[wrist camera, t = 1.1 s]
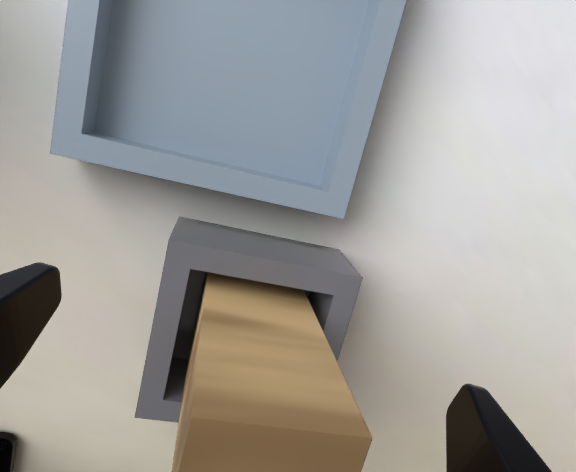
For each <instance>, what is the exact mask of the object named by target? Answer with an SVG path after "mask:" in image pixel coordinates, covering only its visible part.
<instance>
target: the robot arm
mask: <svg viewBox="0 0 576 472" xmlns="http://www.w3.org/2000/svg"><path fill="white" fill-rule="evenodd" d="M60 301H61V283H60V272H59V270H58V268H57V267H55V266H52V265H48V264H44V263H34V264H31V265H28V266H25V267H22V268H19V269H16V270H13V271H10V272H7V273H4V274H1V275H0V388H1V387H2V386H3V385H4V383H5V382H6V381H7V380H8V379H9V377H10V376H11V375H12V374H13V372H14V371H15V370H16V369H17V367H18V366H19V365H20V363H21V362H22V360H23V359H24V358H25V356H26V355H27V353H28V352H29V350H30V349H31V347H32V345H33V344H34V342H35V341H36V339H37V338H38V336H39V335H40V333H41V332H42V330H43V329H44V327H45V326H46V324H47V323H48V321H49V320H50V318H51V317H52V315H53V314H54V312H55V311H56V309H57V307H58V306H59V304H60ZM1 442H3V443H6V444H7V445H3V444H2V443H1ZM16 442H17V441H16V438H15V436H14V435H12V434H10V433H6V432H0V472H13V467H14V459H15V451H16ZM446 456H447V472H552V471H551V470H550V469H549V467H548V466H547V465H546V464H545V462H544V461H543V460H542V459H541V457H540V456H539V455H538V454H537V452H536V451H535V450H534V449H533V447H532V446H531V445H530V443H529V442H528V441H527V440H526V438H525V437H524V436H523V435H522V433H521V432H520V431H519V430H518V428H517V427H516V426H515V425H514V423H513V422H512V421H511V420H510V418H509V417H508V416H507V415H506V413H505V412H504V411H503V410H502V408H501V407H500V406H499V404H498V403H497V402H496V401H495V399H494V398H493V397H492V396H491V394H490V393H489V392H488V391H487V390H486V389H484V388H482V387H479V386H475V385H472V384H465V385H463V386H462V387H461V389H460V390H459V392H458V393H457V395H456V396H455V398H454V399H453V401H452V402H451V404H450V405H449V407H448V410H447V415H446Z"/></svg>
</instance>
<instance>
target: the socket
mask: <svg viewBox="0 0 576 472" xmlns="http://www.w3.org/2000/svg"><path fill="white" fill-rule="evenodd" d="M206 272H210V273H215V274H221V275H226V276H232V277H237V278H243V279H248V280H254V281H259V282H264V283H270V284H275V285H281V286H286V287H292V288H297V289H302V290H304V292H305V294H306V296H307V298H308V300H309V302H310V305H311V307H312V309H313V311H314V313H315V315H316V317H317V320H318V322H319V324H320V326H321V328H322V330H323V333H324V335H325V337H326V339H327V341H328V343H329V346H330V348H331V350H332V352H333V354H334V356H335V358H336V361H337V360H338V356H339V353H340V350H341V347H342V343H343V340H344V337H345V334H346V330H347V327H348V324H349V320H350V317H351V314H352V311H353V307H354V304H355V301H356V298H357V294H358V291H359V288H360V285H361V281H362V278H363V277H362V276H361V275H360V274H359V273H358V272H357V271H356V269H355V268H354V267H353V266H352V265H351V264H350V262H349V261H348V260H347V259H346V258H345V257H344V256H343V254H342V253H341V252H340V251H339V250H338V249H333V248H328V247H324V246H319V245H314V244H309V243H304V242H299V241H295V240H290V239H285V238H280V237H275V236H270V235H266V234H261V233H256V232H251V231H246V230H241V229H237V228H232V227H227V226H222V225H217V224H213V223H208V222H203V221H198V220H193V219H188V218H184V217H179V219H178V221H177V223H176V225H175V227H174V229H173V232H172V234H171V236H170V238H169V241H168V246H167V252H166V257H165V262H164V267H163V272H162V278H161V283H160V288H159V293H158V299H157V304H156V309H155V314H154V319H153V325H152V330H151V335H150V340H149V345H148V351H147V356H146V361H145V366H144V372H143V377H142V382H141V387H140V392H139V398H138V403H137V408H136V413H135V418H143V419H152V420H161V421H170V422H179V418H180V411H181V405H182V398H183V391H184V385H185V378H186V371H187V365H188V358H189V351H190V345H191V340H192V336H193V331H194V327H195V322H196V317H197V313H198V308H199V303H200V299H201V294H202V290H203V285H204V280H205V276H206Z"/></svg>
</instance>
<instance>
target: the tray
mask: <svg viewBox="0 0 576 472" xmlns="http://www.w3.org/2000/svg"><path fill="white" fill-rule="evenodd" d="M405 4H406V0H68V8H67V16H66V24H65V33H64V41H63V49H62V58H61V66H60V74H59V83H58V91H57V100H56V108H55V116H54V125H53V133H52V141H51V150H50V154H54V155H59V156H63V157H68V158H72V159H77V160H81V161H86V162H90V163H95V164H99V165H104V166H108V167H113V168H117V169H121V170H126V171H130V172H135V173H139V174H144V175H148V176H153V177H157V178H162V179H166V180H171V181H175V182H180V183H184V184H189V185H193V186H198V187H202V188H207V189H211V190H216V191H220V192H225V193H229V194H234V195H238V196H243V197H247V198H252V199H256V200H260V201H265V202H269V203H274V204H278V205H283V206H287V207H292V208H296V209H301V210H305V211H310V212H314V213H319V214H323V215H328V216H332V217H337V218H341V219H344V217H345V213H346V210H347V206H348V203H349V199H350V196H351V192H352V189H353V185H354V182H355V178H356V175H357V171H358V168H359V164H360V161H361V157H362V154H363V150H364V147H365V143H366V140H367V136H368V133H369V129H370V126H371V122H372V119H373V115H374V112H375V108H376V105H377V101H378V98H379V94H380V91H381V87H382V84H383V81H384V77H385V74H386V70H387V67H388V63H389V60H390V56H391V53H392V49H393V46H394V42H395V39H396V35H397V32H398V28H399V25H400V21H401V18H402V14H403V11H404V7H405Z"/></svg>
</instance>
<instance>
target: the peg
mask: <svg viewBox="0 0 576 472" xmlns="http://www.w3.org/2000/svg"><path fill="white" fill-rule="evenodd" d="M371 441H372V436H371V434H370V432H369V430H368V428H367V425H366V423H365V421H364V419H363V417H362V415H361V412H360V410H359V408H358V406H357V404H356V402H355V399H354V397H353V395H352V393H351V391H350V389H349V387H348V384H347V382H346V380H345V378H344V376H343V374H342V371H341V369H340V367H339V365H338V363H337V361H336V358H335V356H334V354H333V352H332V350H331V348H330V346H329V343H328V341H327V339H326V337H325V335H324V333H323V330H322V328H321V326H320V324H319V322H318V320H317V317H316V315H315V313H314V311H313V309H312V307H311V305H310V302H309V300H308V298H307V296H306V294H305V292H304V290H302V289H297V288H292V287H286V286H281V285H275V284H270V283H264V282H259V281H254V280H248V279H243V278H237V277H232V276H226V275H221V274H215V273H210V272H206V276H205V280H204V285H203V290H202V294H201V299H200V303H199V308H198V313H197V317H196V322H195V327H194V331H193V336H192V340H191V345H190V351H189V358H188V365H187V371H186V378H185V385H184V391H183V398H182V405H181V411H180V418H179V425H178V431H177V438H176V445H175V451H174V458H173V465H172V471H171V472H361V470H362V467H363V464H364V461H365V458H366V455H367V453H368V450H369V447H370V444H371Z"/></svg>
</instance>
